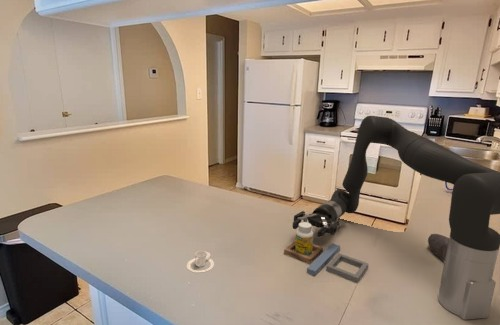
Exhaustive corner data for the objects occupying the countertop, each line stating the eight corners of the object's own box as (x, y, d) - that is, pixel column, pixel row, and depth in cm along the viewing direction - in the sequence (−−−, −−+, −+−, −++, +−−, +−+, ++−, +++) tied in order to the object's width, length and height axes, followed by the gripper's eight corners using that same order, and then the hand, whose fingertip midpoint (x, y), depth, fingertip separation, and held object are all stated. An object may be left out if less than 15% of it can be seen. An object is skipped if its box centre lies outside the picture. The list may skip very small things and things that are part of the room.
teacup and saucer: (203, 254, 94) (203, 242, 93) (221, 264, 89) (221, 251, 88) (181, 266, 88) (180, 254, 87) (199, 277, 83) (198, 264, 82)
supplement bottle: (314, 251, 96) (316, 223, 94) (308, 258, 92) (310, 230, 90) (298, 246, 99) (300, 219, 97) (292, 254, 94) (294, 226, 92)
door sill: (332, 247, 99) (332, 243, 98) (339, 250, 97) (340, 245, 97) (306, 272, 85) (307, 268, 85) (314, 276, 83) (315, 271, 83)
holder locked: (322, 251, 96) (323, 247, 96) (309, 264, 89) (310, 259, 89) (298, 242, 101) (298, 238, 101) (283, 253, 95) (284, 249, 94)
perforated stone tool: (420, 246, 101) (424, 227, 99) (435, 245, 101) (439, 226, 100) (452, 272, 86) (457, 250, 85) (470, 272, 87) (475, 250, 85)
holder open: (368, 268, 88) (368, 263, 87) (357, 283, 81) (358, 278, 80) (338, 257, 93) (338, 253, 93) (326, 270, 86) (326, 265, 86)
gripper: (309, 199, 110) (286, 213, 97) (348, 209, 101) (328, 225, 89) (308, 218, 112) (285, 234, 99) (346, 229, 103) (326, 248, 91)
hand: (305, 230), depth 94 cm, fingers open, 8 cm apart
